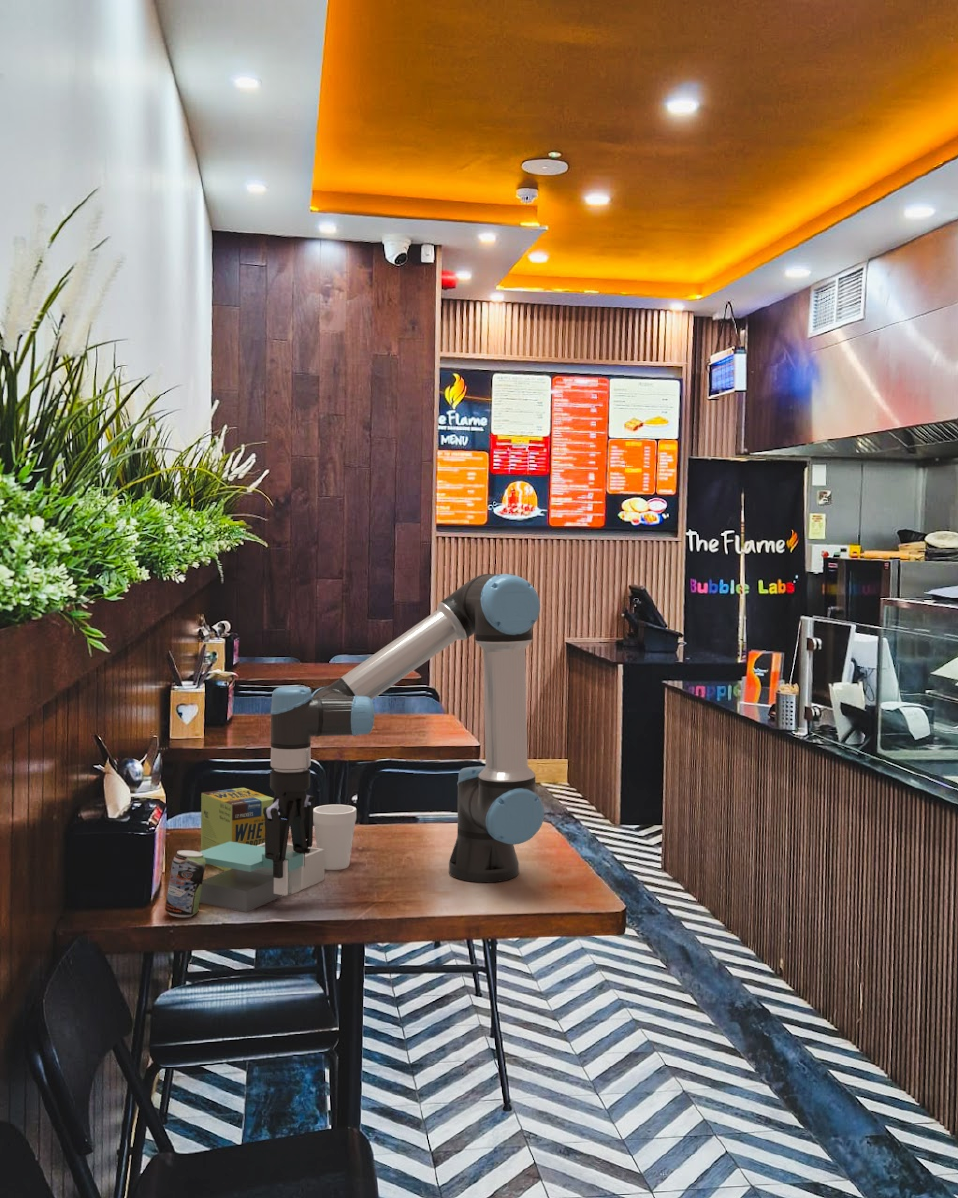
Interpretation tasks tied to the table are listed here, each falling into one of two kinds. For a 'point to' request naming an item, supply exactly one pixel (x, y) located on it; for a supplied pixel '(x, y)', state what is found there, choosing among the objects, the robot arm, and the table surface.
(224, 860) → the lid
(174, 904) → the beverage can
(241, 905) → the block
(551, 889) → the table surface
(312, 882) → the tub
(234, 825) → the protein box
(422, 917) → the table surface
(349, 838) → the foam cup
